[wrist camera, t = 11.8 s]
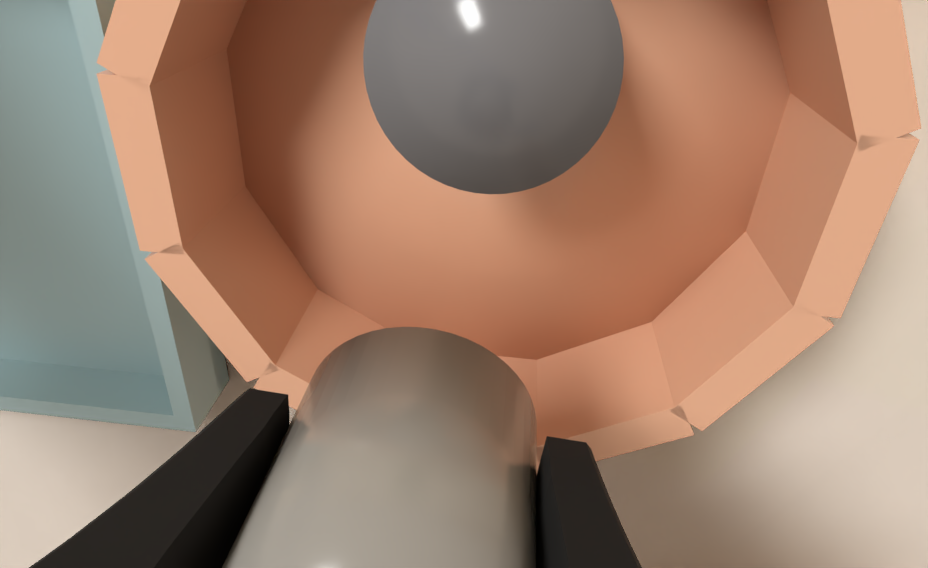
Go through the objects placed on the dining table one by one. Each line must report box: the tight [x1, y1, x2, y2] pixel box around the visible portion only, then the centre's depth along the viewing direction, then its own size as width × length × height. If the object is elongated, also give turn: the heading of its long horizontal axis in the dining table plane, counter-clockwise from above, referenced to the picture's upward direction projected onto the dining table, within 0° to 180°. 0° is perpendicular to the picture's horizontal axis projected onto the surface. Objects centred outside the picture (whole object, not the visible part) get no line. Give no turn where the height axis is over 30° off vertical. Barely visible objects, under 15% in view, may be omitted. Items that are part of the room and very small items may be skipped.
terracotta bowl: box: [97, 0, 921, 475], centre depth 14 cm, size 15×15×4 cm
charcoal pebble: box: [363, 0, 624, 194], centre depth 12 cm, size 4×4×5 cm
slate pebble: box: [222, 327, 537, 568], centre depth 9 cm, size 4×4×5 cm
